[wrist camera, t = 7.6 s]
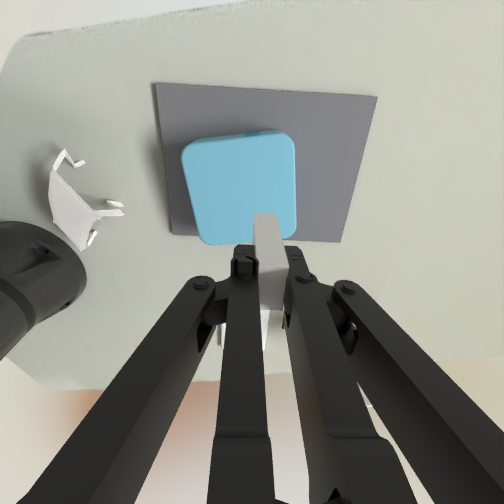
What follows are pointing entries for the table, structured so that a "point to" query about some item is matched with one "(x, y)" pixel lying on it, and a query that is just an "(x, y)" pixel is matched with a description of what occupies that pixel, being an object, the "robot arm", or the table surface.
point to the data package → (240, 184)
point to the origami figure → (74, 207)
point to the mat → (270, 118)
